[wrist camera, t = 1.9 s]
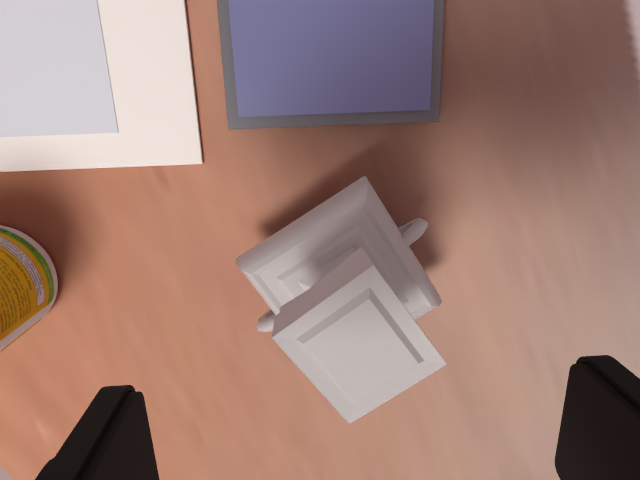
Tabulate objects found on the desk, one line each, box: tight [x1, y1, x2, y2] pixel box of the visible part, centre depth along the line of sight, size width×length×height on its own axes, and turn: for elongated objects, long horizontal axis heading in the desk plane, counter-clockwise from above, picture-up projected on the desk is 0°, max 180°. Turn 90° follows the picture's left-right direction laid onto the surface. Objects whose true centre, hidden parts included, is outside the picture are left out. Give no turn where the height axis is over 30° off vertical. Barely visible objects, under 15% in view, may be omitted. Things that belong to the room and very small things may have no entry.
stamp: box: [236, 175, 446, 424], centre depth 18 cm, size 9×7×8 cm
